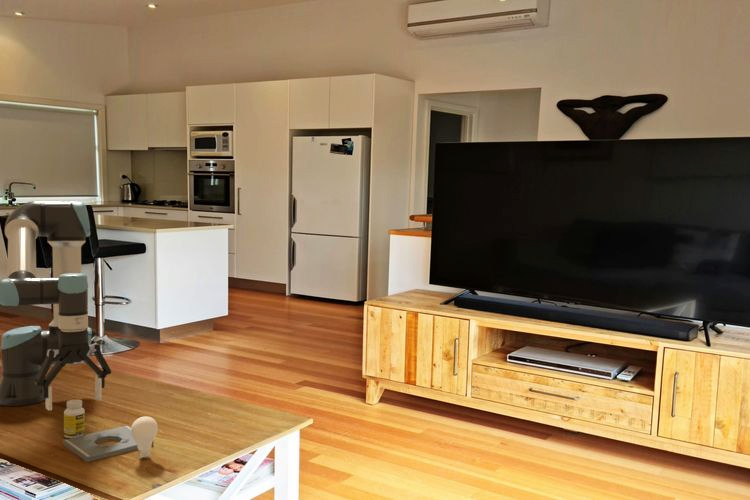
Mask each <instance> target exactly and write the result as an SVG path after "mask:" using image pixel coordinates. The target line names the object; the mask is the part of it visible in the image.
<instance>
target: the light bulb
mask: <svg viewBox="0 0 750 500" xmlns="http://www.w3.org/2000/svg"><path fill="white" fill-rule="evenodd" d="M158 427H159V426H158V423H157V421H156V420H155V419H154V418H153V417H151V416H146V415H145V416H141V417H138V418H137V419H135V420H134V421H133V423H132V424H131V434H132V437H133V438H134V440H135V441H136V443H137V447H138V449H137V450H138V453H137V454H138V457H139V458H141V459H147V458H149V457H151V456H150V455H151V449H152V446H153V445H152V442H153V443H154V440H155V438H156V436H157V435H158V431H159V428H158Z"/></svg>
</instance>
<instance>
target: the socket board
mask: <svg viewBox="0 0 750 500" xmlns="http://www.w3.org/2000/svg"><path fill="white" fill-rule="evenodd" d="M131 427H132V426H131ZM131 427H130V426H129V425H123V426H120V427H115V428H111V429H105V430H100V431H97V432H96V431H95V432H92V433H87V434H84V435H83V436H79V437H75V438H67V439H63V440H62V445H63V446H65V448H67V449H68V450H69V451H71V452H73V453H74V454H75V455H77V456H78V457H79V458H81V459H82V460H84V461H85V462H86V463H89V462H94V461H97V459H98V460H101V459H105V458H109V457H113V456H116V455H120V454H125V453H128V452H131V451H132V452H133V451H135V450H136V451H137V450H138V447H137V443H136V441H135V440H134V438H133V437H132V434H131ZM106 441H119V442H117V443H113V444H108V445H106V444H98V443H101V442H106ZM152 446H154V441H153V442H152Z"/></svg>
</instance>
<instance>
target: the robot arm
mask: <svg viewBox="0 0 750 500" xmlns="http://www.w3.org/2000/svg"><path fill="white" fill-rule="evenodd" d="M4 224H5V225H4V235H5V237H6V238H7V272H6V273H7V274H6V278H5V279H0V305H1V306H9V307H10V306H11V307H12V306H13V307H18V306H39V305H53V319H52V321H51V322H49V323H48V329H47V330H43V329H42V327H41V326H40V325H29V326H22V327H21V326H20V327H16V328H13V329H9V330H8V331H6V332H4V333H3V334H2V336H1V338H0V339H1V344H0V350H1V379H0V406H3V407H4V406H5V407H20V406H27V405H28V406H29V405H34V404H38V403H40V402H43V401H45V410H47V411H52V410H53V386H52V385H50V384H51V383H52V382H53V380H54V379H56V376H58V374H59V373H60V372H61V370H62V369H63V368H64V367H65V366H66V365H74V364H82V363H85V364H86V365H87V366H88V367H89V368H90V369H91V370H92V371H93V372H94V373H95V374H96V375H97V376H94V395H95V396H94V397H95V400H96V401H99V402H100V401H103V400H102V398H103V394H102V392H103V391H102V389H104V388H105V386H106V385H105V382H106V380H105V379H106V378H107V375H110V374H112V369H111V368H110V366H109V364H108V362H107V360H105V357H104V355H103V353H102V352H101V346H100V344H99V343H96V342H92V334H93V333H92V332H93V331H92V330H93V329H92V328H91V327H89V312H88V311H89V310H88V308H89V303H88V302H89V301H88V300H89V299H88V297H89V294H88V293H89V283H88V281H89V280H88V276H87V274H86V273H82V247H83V245H84V244H85V243H87V242H86V241H87V240H86V239H87V238H88V237H90V236H91V225H90V218H89V213H88V210H87V206H86V204H85V203H84V202H81V201H71V200H69V201H67V200H62V201H60V200H57V201H55V200H33V201H28V202H26V203H23V204H22V205H20V206H18V207H17V208H15V209H14V210H13V211H12V212H11V213H10V214H9V216H7V218H6V221H5V223H4ZM38 237H46V240H47V243H48V244H49V245H50V246H51V247H52V277H41V278H39V277H37V249H36V247H37V246H36V239H37V238H38ZM90 351H91V352H92V353H93V354H94V356H95V358H96V360H97V362H98V363H99V364H98V365H100V367H101V368H100V367H99V366H98V365H97V364H96V363H95V362H94V361H93V360H92V359H91V358H90ZM52 366H53V367H52ZM50 367H52V368H51V369H50ZM48 371H49V372H48Z"/></svg>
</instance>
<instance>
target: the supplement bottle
mask: <svg viewBox="0 0 750 500" xmlns="http://www.w3.org/2000/svg"><path fill="white" fill-rule="evenodd" d="M85 417H86V412H85V408H84V407H83V400H82V399H76V398H75V399H70V400H67V401H66V408H65V410H64V411H63V437H65V438H67V439H70V438H75V437H79V436H83V435H86V434H85V433H86V432H85V431H86V429H85V428H86V418H85Z"/></svg>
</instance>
